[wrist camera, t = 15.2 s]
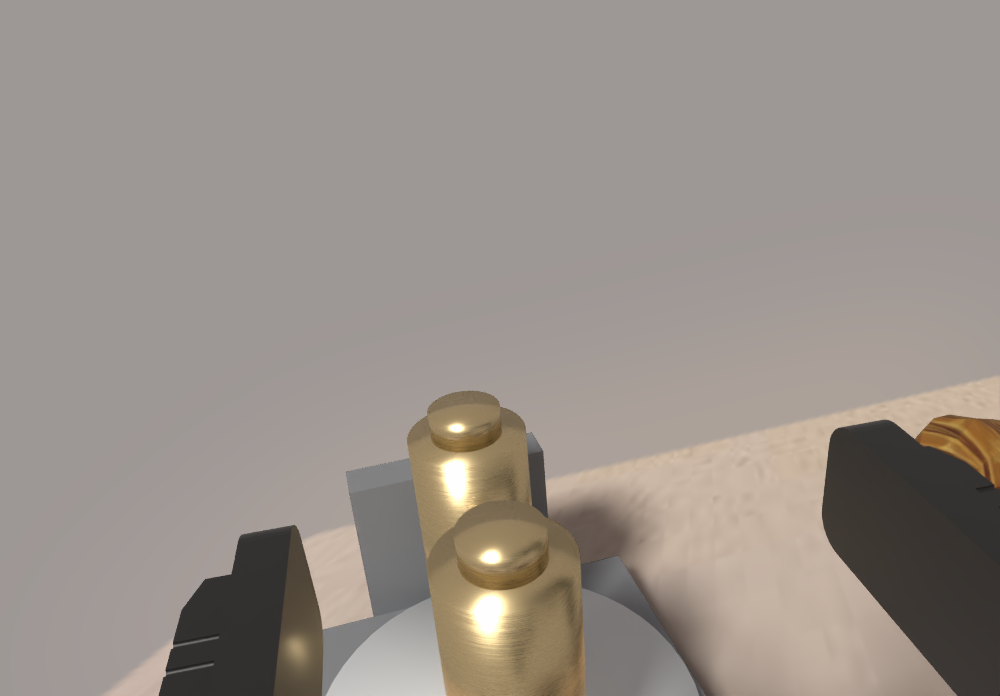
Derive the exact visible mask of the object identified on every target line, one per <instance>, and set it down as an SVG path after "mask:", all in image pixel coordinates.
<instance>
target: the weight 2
mask: <svg viewBox="0 0 1000 696" xmlns="http://www.w3.org/2000/svg"><path fill="white" fill-rule="evenodd" d="M427 575H428V582H429V588H430V595H431V601H432V608H433V614H434V621H435V628H436V634H437V641H438V647H439V654H440V660H441V667H442V673H443V680H444V686H445V693H446V696H587V690H586V669H585V648H584V627H583V606H582V584H581V563H580V551H579V548H578V544H577V543H576V541H575V539H574V537H573V536H572V535H571V533H570V532H569V531H568V530H567V529H565V528H564V527H563V526H562V525H560V524H559V523H557V522H555V521H553V520H551V519H549V518H547V517H544V516H543V514H542V513H541V512H540V511H539V510H538V509H536V508H535V507H533V506H531V505H529V504H526V503H523V502H519V501H513V500H497V501H491V502H486V503H483V504H480V505H477V506H475V507H473V508H471V509H470V510H468V511H467V512H465V513H464V514H463V515H462V516H461V517H460V518H459V519H458V521H457V522H456V524H455V526H454V527H452V528H451V529H449V530H448V531H447V532H446V533H444V534H443V535H442V536H441V537H440V538H439V539H438V540H437V542H436V543H435V544H434V546H433V548H432V549H431V551H430V554H429V556H428V560H427Z"/></svg>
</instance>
